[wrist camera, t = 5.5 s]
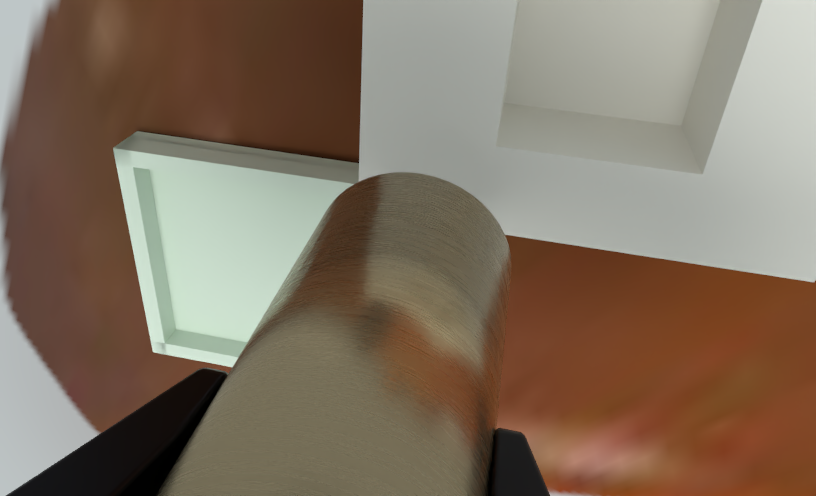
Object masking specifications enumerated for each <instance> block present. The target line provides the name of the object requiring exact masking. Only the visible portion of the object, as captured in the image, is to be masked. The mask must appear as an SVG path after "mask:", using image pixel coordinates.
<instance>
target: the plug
mask: <svg viewBox="0 0 816 496" xmlns="http://www.w3.org/2000/svg"><path fill="white" fill-rule="evenodd" d="M510 278H511V255H510V249H509V245H508V242H507V239H506V236H505V234H504V232H503V230H502V228H501V226H500V224H499V223H498V221H497V220H496V219H495V217H494V216H493V214H492V213H491V212H490V211H489V210H488V209H487V208H486V207H485V205H484V204H483V203H481V202H480V201H479V200H478V199H477V198H475V197H474V196H473V195H472V194H470V193H469V192H467V191H465V190H464V189H462V188H461V187H459V186H457V185H455V184H453V183H451V182H449V181H446V180H443V179H440V178H437V177H434V176H430V175H425V174H420V173H411V172H393V173H386V174H380V175H376V176H373V177H369V178H367V179H364V180H362V181H359V182H357V183H355V184H354V185H352V186H350V187H349V188H347V189H346V190H345V191H343V192H342V193H341V194H340V195H339V196H337V198H336V199H335V200H334V201H333V202H332V203H331V204H330V206H329V207H328V209H327V210H326V212H325V214H324V215H323V217H322V219H321V220H320V222H319V224H318V225H317V227H316V229H315V230H314V232H313V234H312V235H311V237H310V239H309V240H308V242H307V244H306V245H305V247H304V249H303V250H302V252H301V254H300V255H299V257H298V259H297V260H296V262H295V264H294V265H293V267H292V269H291V270H290V272H289V274H288V275H287V277H286V279H285V280H284V282H283V284H282V285H281V287H280V289H279V290H278V292H277V294H276V295H275V297H274V299H273V300H272V302H271V304H270V305H269V307H268V309H267V310H266V312H265V314H264V315H263V317H262V319H261V320H260V322H259V324H258V325H257V327H256V329H255V330H254V332H253V334H252V335H251V337H250V339H249V340H248V342H247V344H246V345H245V347H244V349H243V350H242V352H241V354H240V355H239V357H238V359H237V360H236V362H235V364H234V365H233V367H232V369H231V370H230V372H229V374H228V376H227V377H226V379H225V381H224V382H223V384H222V386H221V387H220V389H219V391H218V392H217V394H216V396H215V397H214V399H213V401H212V402H211V404H210V406H209V407H208V409H207V411H206V412H205V414H204V416H203V417H202V419H201V421H200V422H199V424H198V426H197V427H196V429H195V431H194V432H193V434H192V436H191V437H190V439H189V441H188V442H187V444H186V446H185V447H184V449H183V451H182V452H181V454H180V456H179V457H178V459H177V461H176V462H175V464H174V466H173V467H172V469H171V471H170V472H169V474H168V476H167V477H166V479H165V481H164V482H163V484H162V486H161V487H160V489H159V491H158V492H157V494H156V496H489V488H490V477H491V467H492V456H493V446H494V436H495V430H496V427H497V416H498V406H499V395H500V384H501V374H502V363H503V352H504V342H505V331H506V320H507V310H508V299H509V288H510Z"/></svg>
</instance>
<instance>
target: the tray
mask: <svg viewBox="0 0 816 496" xmlns="http://www.w3.org/2000/svg"><path fill="white" fill-rule="evenodd" d="M113 151H114V156H115V161H116V166H117V171H118V176H119V181H120V186H121V191H122V196H123V202H124V207H125V212H126V217H127V222H128V227H129V232H130V237H131V242H132V247H133V253H134V258H135V263H136V268H137V273H138V278H139V283H140V288H141V293H142V298H143V304H144V309H145V314H146V319H147V324H148V329H149V334H150V339H151V344H152V349H153V352H155V353H160V354H166V355H171V356H176V357H181V358H187V359H192V360H197V361H203V362H208V363H213V364H218V365H224V366H229V367H233V365H234V364H235V362H236V360H237V359H238V357H239V355H240V354H241V352H242V350H243V349H244V347H245V345H246V344H247V342H248V340H249V339H250V337H251V335H252V334H253V332H254V330H255V329H256V327H257V325H258V324H259V322H260V320H261V319H262V317H263V315H264V314H265V312H266V310H267V309H268V307H269V305H270V304H271V302H272V300H273V299H274V297H275V295H276V294H277V292H278V290H279V289H280V287H281V285H282V284H283V282H284V280H285V279H286V277H287V275H288V274H289V272H290V270H291V269H292V267H293V265H294V264H295V262H296V260H297V259H298V257H299V255H300V254H301V252H302V250H303V249H304V247H305V245H306V244H307V242H308V240H309V239H310V237H311V235H312V234H313V232H314V230H315V229H316V227H317V225H318V224H319V222H320V220H321V219H322V217H323V215H324V214H325V212H326V210H327V209H328V207H329V206H330V204H331V203H332V202H333V201H334V200H335V199H336V198H337V196H339V195H340V194H341V193H342V192H343V191H345V190H346V189H347V188H349V187H350V186H352V185H354V184H355V183H357V182H359V163H354V162H347V161H340V160H333V159H326V158H319V157H312V156H305V155H299V154H292V153H285V152H278V151H271V150H264V149H257V148H250V147H243V146H236V145H230V144H223V143H216V142H209V141H202V140H195V139H188V138H181V137H174V136H168V135H161V134H154V133H147V132H140V131H137V132H135V133H134V134H132V135H131V136H130V137H128V138H127V139H125V140H124V141H122V142H121V143H120V144H118V145H117V146H115V147H114V148H113Z"/></svg>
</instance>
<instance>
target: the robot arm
mask: <svg viewBox="0 0 816 496" xmlns="http://www.w3.org/2000/svg"><path fill="white" fill-rule="evenodd" d="M227 376H228V373H227V372H225V371H220V370H216V369H211V368H201V369H199V370H197V371H196V372H194V373H192V374H191V375H189V376H188V377H186V378H185V379H183V380H182V381H180V382H179V383H177V384H176V385H174V386H173V387H171V388H170V389H168V390H167V391H165V392H163V393H162V394H160V395H159V396H157V397H156V398H154V399H153V400H151V401H150V402H148V403H147V404H145V405H144V406H142V407H141V408H139V409H138V410H136V411H134V412H133V413H131V414H130V415H128V416H127V417H125V418H124V419H122V420H121V421H119V422H118V423H116V424H115V425H113V426H112V427H110V428H109V429H107V430H106V431H104V432H102V433H101V434H99V435H98V436H96V437H95V438H93V439H92V440H91V441H89V442H87V443H86V444H84V445H83V446H81V447H80V448H78V449H77V450H75V451H73V452H72V453H70V454H69V455H67V456H66V457H65V458H63V459H61V460H60V461H58V462H57V463H55V464H54V465H52V466H51V467H49V468H48V469H46V470H44V471H43V472H42V473H40V474H39V475H37V476H35V477H34V478H32V479H31V480H29V481H28V482H26V483H25V484H23V485H22V486H20V487H19V488H17V489H16V490H14V491H12V492H11V493H9V494H8V495H6V496H156V494H157V492H158V491H159V489H160V487H161V486H162V484H163V482H164V481H165V479H166V477H167V476H168V474H169V472H170V471H171V469H172V467H173V466H174V464H175V462H176V461H177V459H178V457H179V456H180V454H181V452H182V451H183V449H184V447H185V446H186V444H187V442H188V441H189V439H190V437H191V436H192V434H193V432H194V431H195V429H196V427H197V426H198V424H199V422H200V421H201V419H202V417H203V416H204V414H205V412H206V411H207V409H208V407H209V406H210V404H211V402H212V401H213V399H214V397H215V396H216V394H217V392H218V391H219V389H220V387H221V386H222V384H223V382H224V381H225V379H226V377H227ZM489 496H550V494H549V492H548V489H547V487H546V485H545V482H544V480H543V478H542V475H541V473H540V470H539V468H538V466H537V463H536V461H535V459H534V456H533V454H532V451H531V449H530V447H529V444H528V442H527V440H526V438H525V436H524V435H523V434H522V433H521V432H517V431H512V430H508V429H503V428H498V429H496V430H495V436H494V446H493V456H492V467H491V477H490V488H489Z"/></svg>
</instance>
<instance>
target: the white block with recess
mask: <svg viewBox="0 0 816 496" xmlns="http://www.w3.org/2000/svg"><path fill="white" fill-rule="evenodd" d="M393 172H411V173H420V174H425V175H430V176H434V177H437V178H440V179H443V180H446V181H449V182H451V183H453V184H455V185H457V186H459V187H461V188H462V189H464V190H465V191H467V192H469V193H470V194H472V195H473V196H474V197H475V198H477V199H478V200H479V201H480V202H481V203H483V204H484V205H485V207H486V208H487V209H488V210H489V211H490V212H491V213H492V214H493V216H494V217H495V219H496V220H497V221H498V223H499V224H500V226H501V228H502V230H503V232H504V234H505V235H511V236H517V237H524V238H530V239H537V240H543V241H550V242H556V243H563V244H569V245H576V246H582V247H589V248H595V249H601V250H608V251H614V252H621V253H627V254H634V255H640V256H647V257H653V258H660V259H666V260H673V261H679V262H686V263H692V264H698V265H705V266H711V267H718V268H724V269H731V270H737V271H744V272H750V273H757V274H763V275H770V276H776V277H783V278H789V279H795V280H802V281H808V282H815V280H816V0H363V36H362V73H361V111H360V148H359V181H362V180H364V179H367V178H369V177H373V176H376V175H380V174H386V173H393Z"/></svg>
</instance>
